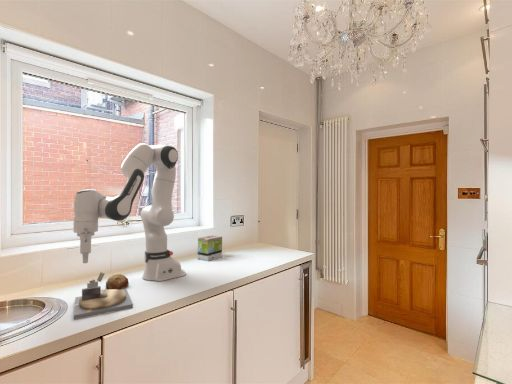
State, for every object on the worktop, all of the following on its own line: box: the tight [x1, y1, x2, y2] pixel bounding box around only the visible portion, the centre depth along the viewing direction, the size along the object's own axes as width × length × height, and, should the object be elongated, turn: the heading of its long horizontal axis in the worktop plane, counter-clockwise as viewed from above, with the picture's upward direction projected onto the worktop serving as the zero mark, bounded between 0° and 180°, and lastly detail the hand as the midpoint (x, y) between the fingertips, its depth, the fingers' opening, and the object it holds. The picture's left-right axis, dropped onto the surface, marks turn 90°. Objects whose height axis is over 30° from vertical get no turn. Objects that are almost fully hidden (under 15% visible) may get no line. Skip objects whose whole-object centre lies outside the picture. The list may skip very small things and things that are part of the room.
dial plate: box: [73, 288, 134, 320], centre depth 117 cm, size 20×20×2 cm
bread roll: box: [105, 273, 130, 290], centre depth 137 cm, size 10×10×8 cm
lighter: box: [86, 271, 105, 288], centre depth 133 cm, size 7×2×8 cm, turn 137°
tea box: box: [196, 235, 223, 262], centre depth 195 cm, size 15×10×15 cm, turn 148°
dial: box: [79, 285, 126, 309], centre depth 116 cm, size 17×17×6 cm
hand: (85, 260), depth 118 cm, fingers open, 8 cm apart
